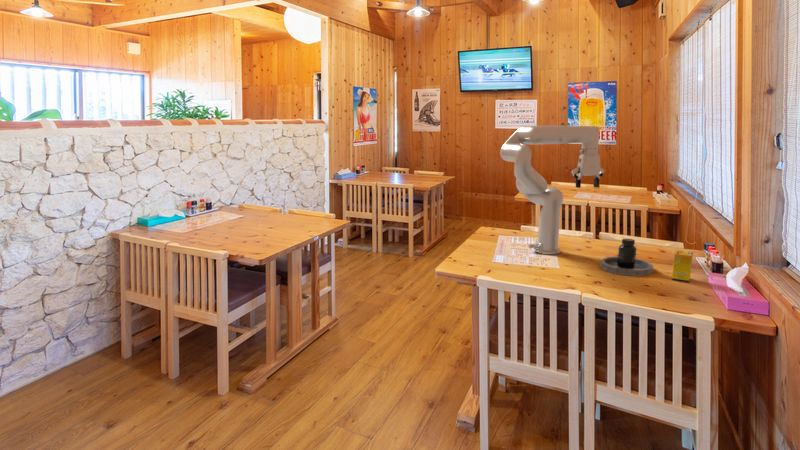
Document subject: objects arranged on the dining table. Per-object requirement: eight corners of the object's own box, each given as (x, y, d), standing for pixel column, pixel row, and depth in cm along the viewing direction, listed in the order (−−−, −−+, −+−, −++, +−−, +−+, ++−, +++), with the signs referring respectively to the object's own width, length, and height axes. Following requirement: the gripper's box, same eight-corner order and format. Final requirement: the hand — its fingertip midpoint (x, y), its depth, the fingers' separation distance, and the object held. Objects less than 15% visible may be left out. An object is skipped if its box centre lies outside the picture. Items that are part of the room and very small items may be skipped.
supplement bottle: (636, 269, 194) (639, 241, 191) (619, 268, 195) (621, 241, 192) (632, 264, 200) (634, 238, 198) (615, 264, 202) (617, 237, 199)
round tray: (619, 277, 186) (620, 271, 186) (591, 263, 206) (591, 258, 205) (663, 274, 190) (664, 268, 189) (631, 260, 209) (631, 255, 208)
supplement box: (672, 276, 187) (675, 250, 185) (690, 278, 184) (693, 252, 182) (671, 280, 183) (674, 253, 180) (689, 282, 179) (692, 255, 177)
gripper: (577, 153, 220) (575, 188, 223) (610, 152, 223) (607, 187, 226) (569, 152, 227) (566, 186, 230) (601, 151, 230) (598, 185, 233)
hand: (587, 187), depth 228 cm, fingers open, 9 cm apart
